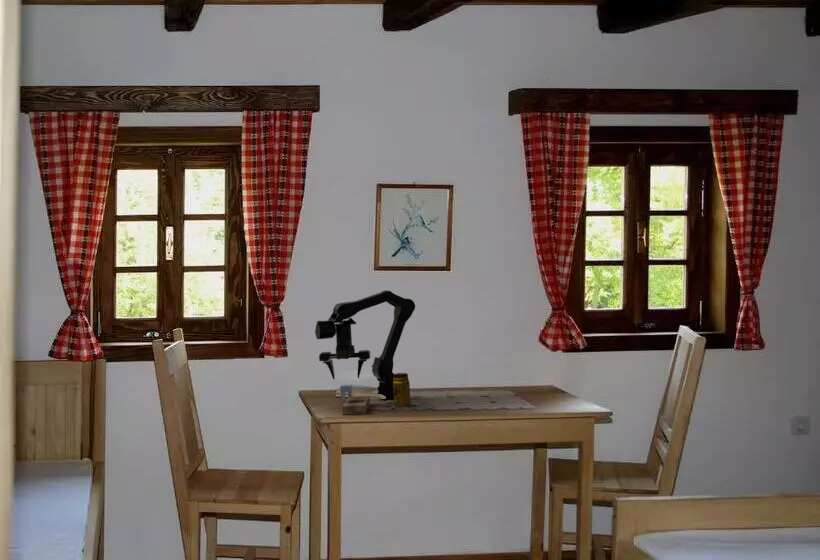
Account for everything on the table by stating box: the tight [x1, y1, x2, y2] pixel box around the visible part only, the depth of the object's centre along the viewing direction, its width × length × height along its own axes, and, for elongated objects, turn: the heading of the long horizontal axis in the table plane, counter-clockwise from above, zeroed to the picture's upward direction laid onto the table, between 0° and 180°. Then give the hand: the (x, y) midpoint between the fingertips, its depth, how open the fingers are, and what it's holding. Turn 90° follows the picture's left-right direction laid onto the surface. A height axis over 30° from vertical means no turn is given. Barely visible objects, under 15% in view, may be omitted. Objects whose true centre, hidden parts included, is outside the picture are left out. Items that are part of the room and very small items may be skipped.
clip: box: [339, 384, 354, 405], centre depth 392 cm, size 4×4×7 cm
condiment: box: [390, 372, 419, 409], centre depth 380 cm, size 7×8×12 cm
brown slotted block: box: [341, 395, 371, 415], centre depth 378 cm, size 8×20×3 cm, turn 177°
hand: (346, 378), depth 392 cm, fingers open, 9 cm apart
